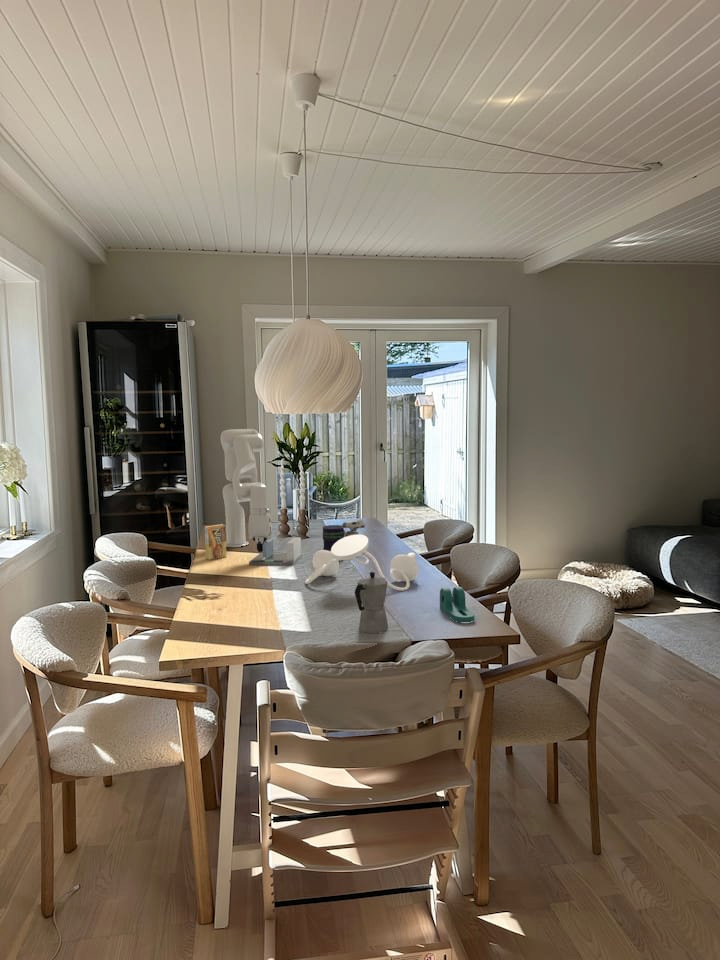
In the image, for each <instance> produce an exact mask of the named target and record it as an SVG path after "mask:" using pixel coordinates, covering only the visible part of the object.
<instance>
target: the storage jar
mask: <svg viewBox="0 0 720 960" xmlns="http://www.w3.org/2000/svg"><path fill="white" fill-rule="evenodd" d="M344 530H345V528H344V526H342V524H341V525H340V524H333V525H330V524H329V525H325V526H322V540H323V548H322V550H327V551H331V548H332V546H333V545H334V544H335V543H336V542H337V541H338V540H340V539H342V538H344ZM341 561H342V560H339V562H341Z"/></svg>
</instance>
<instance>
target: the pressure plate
mask: <svg viewBox="0 0 720 960" xmlns="http://www.w3.org/2000/svg"><path fill="white" fill-rule="evenodd" d="M262 553H263V558H262V560H267V559H268V558H269V557H270V556H272V555H273V554H274V553H275V550H274V539H273V538H271V539H268V540H266V541H265V542H264V544H263V552H262Z"/></svg>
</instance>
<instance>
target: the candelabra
mask: <svg viewBox="0 0 720 960" xmlns="http://www.w3.org/2000/svg"><path fill="white" fill-rule="evenodd" d="M369 545H370V544H369V538H368V537H367V536H366V535H363V534H360V533H359V534H357V535H350V536H347V537H344V538H342V539H340V540H338V541H337V542H336V543H335V544H334V545H333V546H332V548H331V551H327V550H323V549H321V550H318V551H316V552H315V553H314V554H313V557H312V566H313V569H314V570H315V571H313V573H312V574H310V576H309V577H308V578H306V579H305V581H304V583H305V585H308V584H311V582H313V581H315V579H317V578H318V577H319V576H323V577H331V576H332V577H333V576H334V575H336V574H337V573H338V571H339V570H340V569H339V568H340V561H339V560H343V561H350V560H352V559H353V561H355V562H356V563H357V564H359V565H361V566H367V565H369V563H370V560H369V558H370V559H371V560H372V561H373V564H374V565H375V568H376V570H377V573H378V575H379V576H380V578H386V577H385V575H384V574H383V571H382V570H381V567H380V565H379V562H378V561H377V559H376V558H375V556H374V555H373V554H371V553H370V552H368V551H367V550H368V549H369ZM364 554H365V555H364ZM358 557H362V558H363V559H364V560H365V561H362V560H360V559H358ZM368 557H369V558H368ZM389 569H390V571H389V575H390V577H391V579H392V580H394V581H395V582H398V583H401V582H402V583H403V582H404V583H406V585H405V587H399V586H396V585H394V584H392V583H391V582H389V580H388V579H387V578H386V579H385V580H387V581H388V582H387V587H389V588H391V589H394V590H397V591H400V592H405V591H407V590H409V588H410V584H411V583H410V582H412V581H414V580H416V578H417V576H418V574H419V571H420V568H419V565H418V563H417V561H416V554H415V552H408V554H403V553H401V554H397V555H395V556H394V557H393V558H392V559H391V561H390V563H389Z"/></svg>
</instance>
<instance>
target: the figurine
mask: <svg viewBox="0 0 720 960" xmlns="http://www.w3.org/2000/svg"><path fill="white" fill-rule="evenodd" d="M341 526H344V537H347V536H350V535H357V534H360V533H359V532H358V529H359V530H360V529H363V528H365V527H366V524H365V522H364V520H363V519H356V520H350V521H349V520H348V521H346V522H343V523H342V524H341ZM347 529H349V530H347Z"/></svg>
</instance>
